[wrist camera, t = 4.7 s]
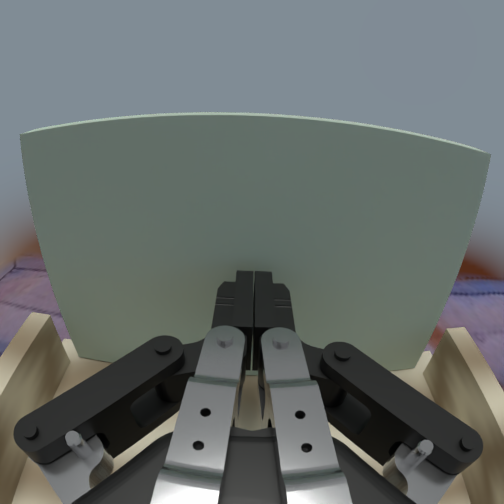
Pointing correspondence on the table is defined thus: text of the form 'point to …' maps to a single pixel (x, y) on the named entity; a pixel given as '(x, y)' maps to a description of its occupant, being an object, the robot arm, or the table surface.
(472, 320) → the table surface
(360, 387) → the robot arm
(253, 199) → the panel
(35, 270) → the table surface
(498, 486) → the cart bed
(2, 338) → the table surface
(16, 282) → the table surface
